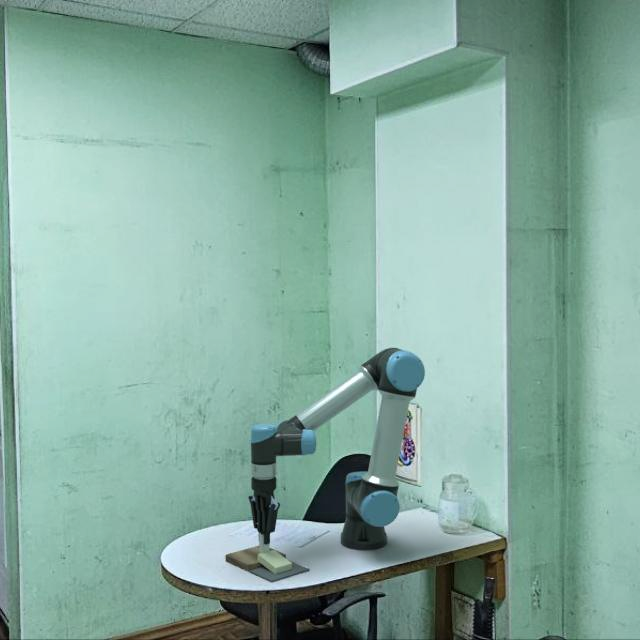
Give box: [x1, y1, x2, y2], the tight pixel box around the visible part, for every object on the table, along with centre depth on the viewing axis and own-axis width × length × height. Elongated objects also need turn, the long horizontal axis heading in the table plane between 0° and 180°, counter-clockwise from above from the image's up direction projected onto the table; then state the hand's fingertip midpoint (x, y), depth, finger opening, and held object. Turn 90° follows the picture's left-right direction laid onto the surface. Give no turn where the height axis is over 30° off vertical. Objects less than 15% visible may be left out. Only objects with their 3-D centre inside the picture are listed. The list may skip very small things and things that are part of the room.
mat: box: [249, 559, 310, 583], centre depth 246 cm, size 14×10×1 cm
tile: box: [257, 549, 292, 574], centre depth 247 cm, size 9×6×2 cm, turn 40°
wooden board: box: [225, 545, 287, 573], centre depth 255 cm, size 14×12×2 cm
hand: (264, 553), depth 251 cm, fingers closed
